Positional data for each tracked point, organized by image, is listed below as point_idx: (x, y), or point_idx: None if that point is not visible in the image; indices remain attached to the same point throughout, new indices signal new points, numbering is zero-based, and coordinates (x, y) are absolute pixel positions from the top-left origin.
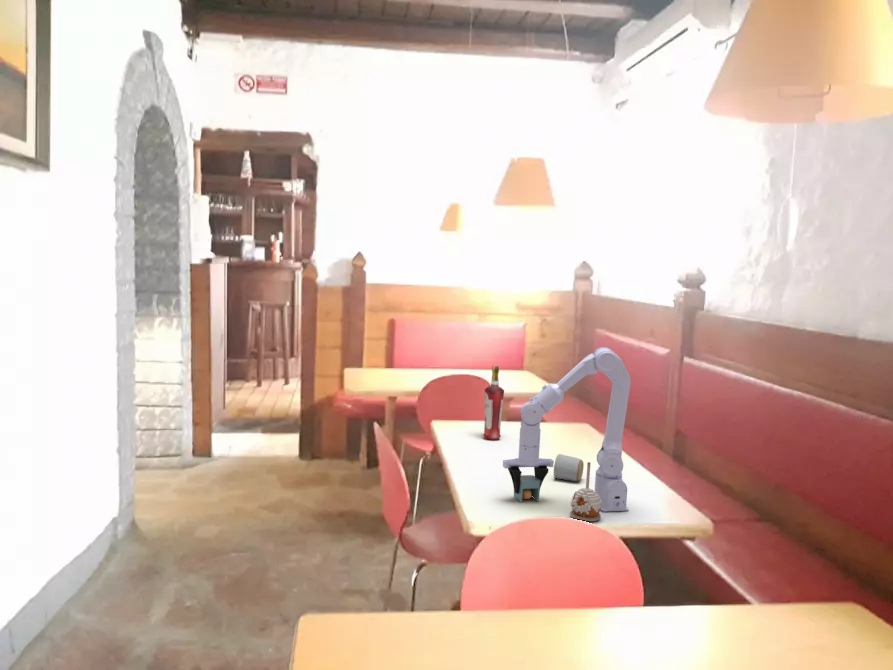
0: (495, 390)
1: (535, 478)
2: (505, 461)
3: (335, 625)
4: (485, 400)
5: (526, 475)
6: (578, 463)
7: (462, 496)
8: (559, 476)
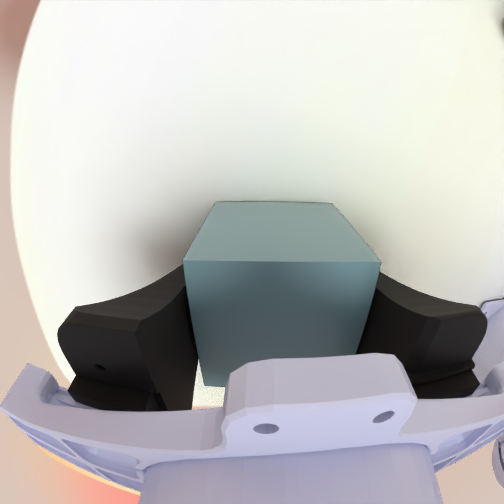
0: None
1: (341, 350)
2: (32, 440)
3: (45, 449)
4: None
5: (311, 268)
6: None
7: (11, 186)
8: None
